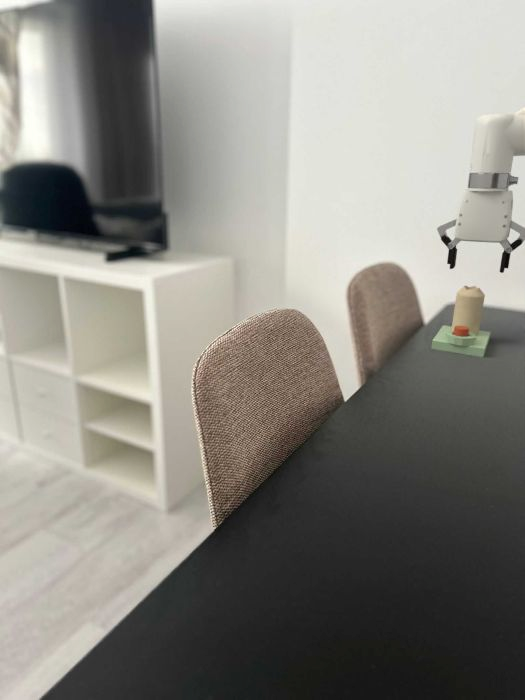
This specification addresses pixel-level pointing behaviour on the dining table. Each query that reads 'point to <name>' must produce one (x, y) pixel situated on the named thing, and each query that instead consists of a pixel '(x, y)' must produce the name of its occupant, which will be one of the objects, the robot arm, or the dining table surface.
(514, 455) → the dining table surface
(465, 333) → the power button
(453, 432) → the dining table surface
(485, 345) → the green stand
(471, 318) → the candle
